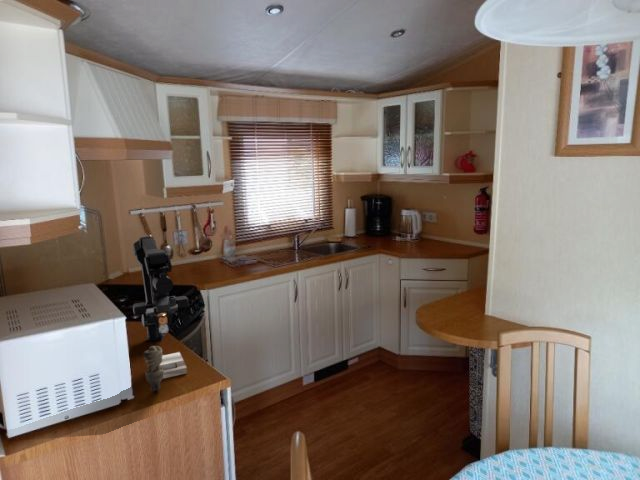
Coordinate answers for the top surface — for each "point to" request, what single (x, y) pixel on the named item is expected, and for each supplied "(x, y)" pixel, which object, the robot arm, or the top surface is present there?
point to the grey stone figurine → (154, 367)
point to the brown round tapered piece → (162, 322)
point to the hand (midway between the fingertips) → (163, 327)
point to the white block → (173, 365)
